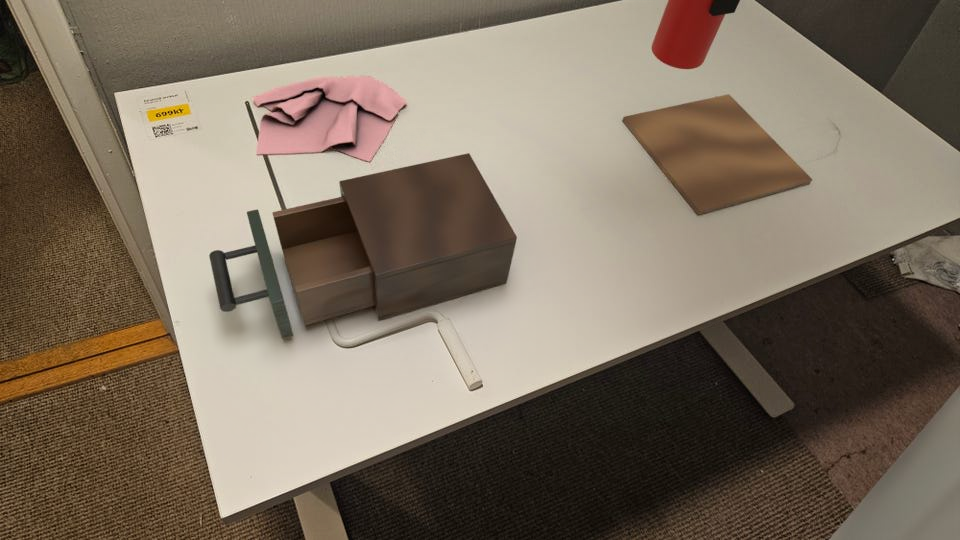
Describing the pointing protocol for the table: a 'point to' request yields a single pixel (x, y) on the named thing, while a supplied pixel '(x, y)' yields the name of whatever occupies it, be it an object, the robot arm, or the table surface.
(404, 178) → the cabinet
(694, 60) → the red cylinder white end
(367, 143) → the cloth
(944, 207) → the table surface
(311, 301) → the drawer
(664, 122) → the brown wooden square board
